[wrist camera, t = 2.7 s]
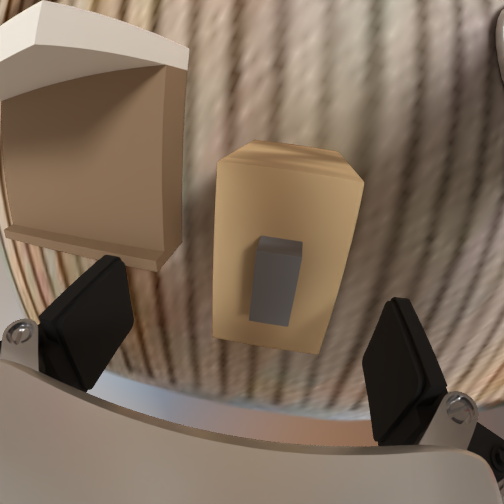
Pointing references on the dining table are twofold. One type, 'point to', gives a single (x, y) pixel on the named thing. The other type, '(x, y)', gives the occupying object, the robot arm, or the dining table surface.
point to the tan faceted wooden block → (281, 243)
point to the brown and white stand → (92, 134)
